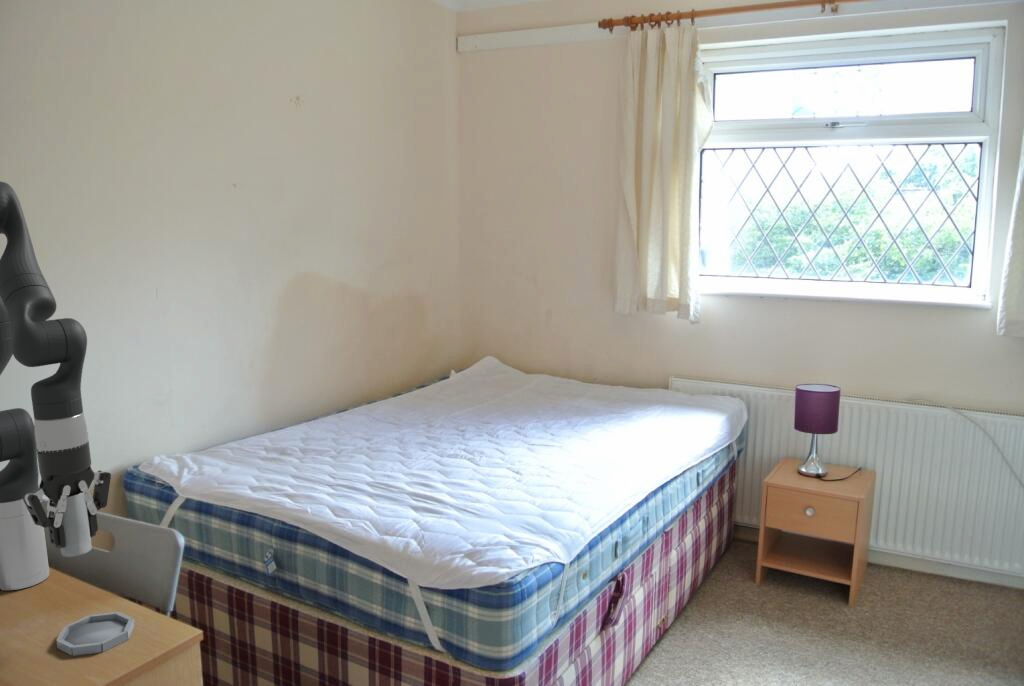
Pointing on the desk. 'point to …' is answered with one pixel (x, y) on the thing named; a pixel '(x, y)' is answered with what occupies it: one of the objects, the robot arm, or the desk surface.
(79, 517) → the planter
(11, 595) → the desk surface
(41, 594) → the desk surface
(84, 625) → the saucer
